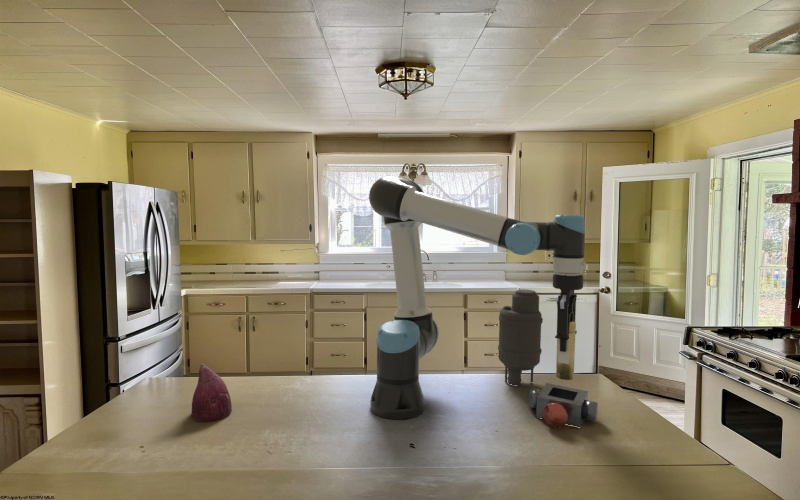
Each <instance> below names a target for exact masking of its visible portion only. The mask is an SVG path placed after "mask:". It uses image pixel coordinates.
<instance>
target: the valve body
mask: <svg viewBox="0 0 800 500" xmlns="http://www.w3.org/2000/svg"><path fill="white" fill-rule="evenodd" d="M527 403H528V407H530V408H532V409H533V408H534V409H535V411H536V414H535V418H536V417H537V418H536V419H538V418H542V419H544V420H543V421H545V422H546V423H547V425H549V426H550V427H552V428H555V429H556V428H557V429H559V428H563V427H564V426H566V425H565V424H568V425H573V426H577V427H581V428H582V426H581V424H582V425H583V423H584V421H589V422H594V423H596V422H597V420H598V413H599V412H598V411H599V402H598V401H595V400H589V391H587V390H583V389H578V388H575V387H574V388H573V387H569V386H564V385H563V386H562V385H558V384H554V383H550V382H547V383H546V384H544V386H543V387H542V388H541V389H537V388H532V387H531V388H530V390H529V393H528V402H527ZM542 419H541V420H542ZM583 420H584V421H583ZM582 422H583V423H582Z"/></svg>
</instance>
